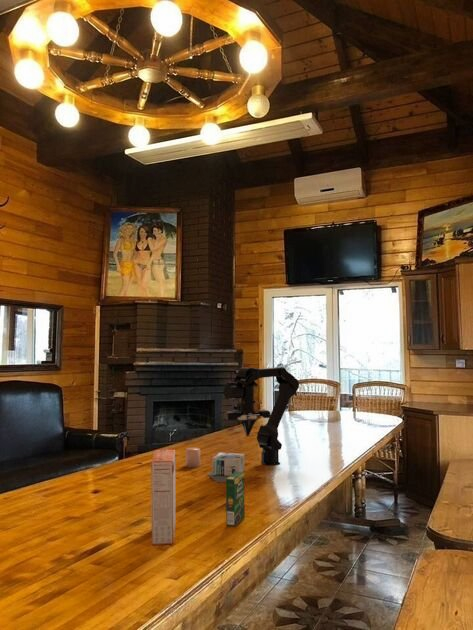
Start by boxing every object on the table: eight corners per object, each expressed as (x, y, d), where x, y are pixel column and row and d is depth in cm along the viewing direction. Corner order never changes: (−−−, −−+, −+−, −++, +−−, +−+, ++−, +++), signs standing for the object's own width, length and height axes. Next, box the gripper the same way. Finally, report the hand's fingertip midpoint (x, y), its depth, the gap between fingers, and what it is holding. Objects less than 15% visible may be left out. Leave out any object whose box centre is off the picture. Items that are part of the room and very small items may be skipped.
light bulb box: (239, 459, 186) (212, 457, 188) (239, 477, 185) (211, 475, 187) (244, 453, 196) (218, 451, 198) (244, 470, 196) (218, 468, 198)
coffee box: (235, 527, 134) (234, 478, 135) (225, 526, 135) (225, 478, 136) (245, 518, 141) (245, 472, 142) (236, 517, 142) (235, 471, 143)
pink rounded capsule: (197, 463, 209) (197, 447, 209) (201, 466, 203) (201, 449, 203) (184, 464, 206) (184, 448, 207) (187, 468, 201) (187, 450, 201)
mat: (233, 471, 194) (233, 470, 194) (245, 479, 182) (245, 479, 182) (206, 474, 191) (206, 473, 191) (217, 482, 179) (217, 481, 179)
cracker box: (154, 525, 136) (154, 449, 137) (176, 524, 136) (176, 448, 138) (149, 545, 122) (150, 460, 123) (173, 545, 122) (174, 460, 124)
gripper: (260, 395, 213) (260, 431, 212) (219, 396, 207) (219, 434, 206) (270, 397, 203) (271, 435, 201) (228, 399, 196) (228, 438, 195)
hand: (247, 435), depth 201 cm, fingers closed
